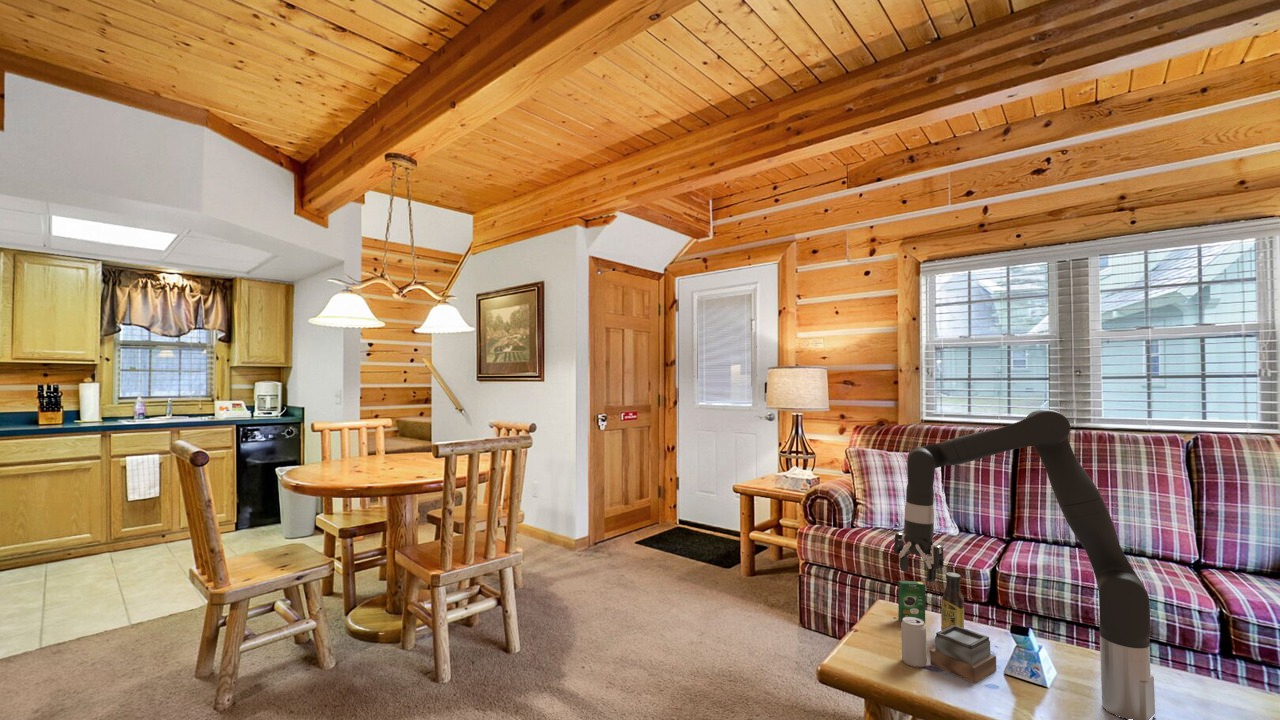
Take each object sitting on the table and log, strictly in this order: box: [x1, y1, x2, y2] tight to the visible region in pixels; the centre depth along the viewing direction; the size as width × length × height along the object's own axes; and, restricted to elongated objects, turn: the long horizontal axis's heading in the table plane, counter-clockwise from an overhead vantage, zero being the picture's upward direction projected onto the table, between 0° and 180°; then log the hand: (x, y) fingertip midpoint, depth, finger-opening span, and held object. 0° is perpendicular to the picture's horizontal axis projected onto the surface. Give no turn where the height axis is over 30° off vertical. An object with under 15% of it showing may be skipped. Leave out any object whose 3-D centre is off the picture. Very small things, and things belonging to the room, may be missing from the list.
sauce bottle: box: [940, 572, 965, 631], centre depth 176 cm, size 6×6×20 cm
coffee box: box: [897, 580, 926, 624], centre depth 188 cm, size 8×3×13 cm, turn 85°
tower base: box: [929, 625, 997, 684], centre depth 158 cm, size 12×12×9 cm
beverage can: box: [900, 617, 928, 668], centre depth 161 cm, size 6×6×12 cm
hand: (917, 576), depth 160 cm, fingers open, 8 cm apart
